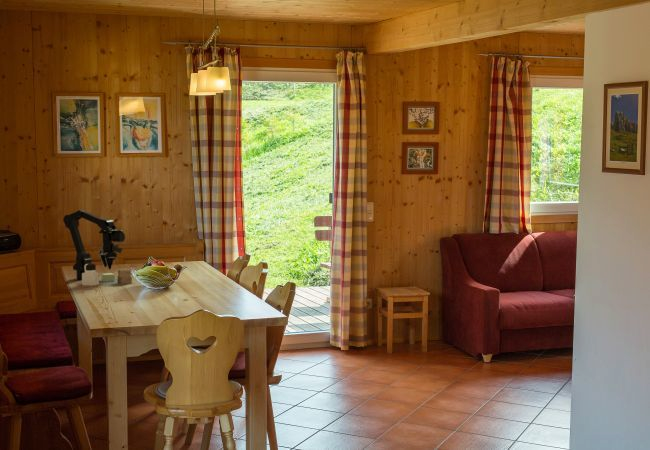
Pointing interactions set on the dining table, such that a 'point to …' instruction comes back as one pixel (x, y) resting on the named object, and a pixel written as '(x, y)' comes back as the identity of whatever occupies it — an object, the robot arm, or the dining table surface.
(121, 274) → the tower top
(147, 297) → the dining table surface
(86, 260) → the robot arm
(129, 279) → the tower base
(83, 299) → the dining table surface
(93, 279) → the medicine bottle
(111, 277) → the sage block
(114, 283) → the mat
